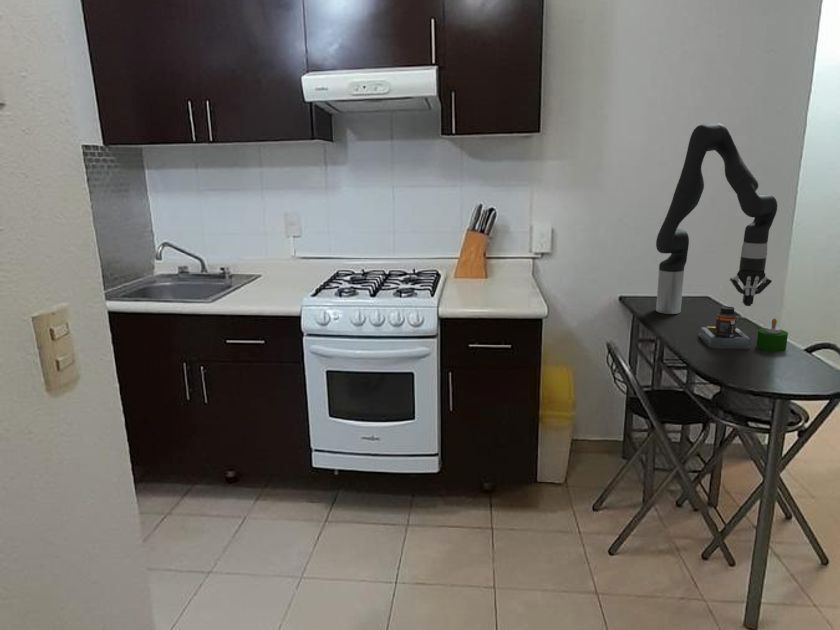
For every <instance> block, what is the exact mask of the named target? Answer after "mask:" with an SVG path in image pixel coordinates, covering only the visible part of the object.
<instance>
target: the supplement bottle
mask: <svg viewBox="0 0 840 630" xmlns="http://www.w3.org/2000/svg"><path fill="white" fill-rule="evenodd" d="M737 318H738V317H737V314H736V313H735V307H733V306H724V305H723V306H720V312H718V313H717V314H716V320H715V322H716V323H715V327H716V330H715V337H735V330H736V328H737Z"/></svg>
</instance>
